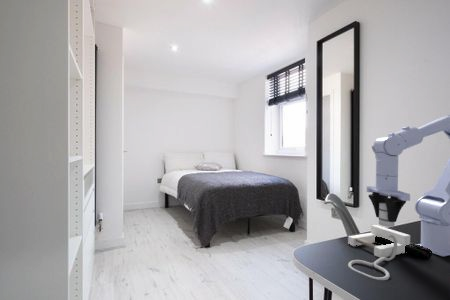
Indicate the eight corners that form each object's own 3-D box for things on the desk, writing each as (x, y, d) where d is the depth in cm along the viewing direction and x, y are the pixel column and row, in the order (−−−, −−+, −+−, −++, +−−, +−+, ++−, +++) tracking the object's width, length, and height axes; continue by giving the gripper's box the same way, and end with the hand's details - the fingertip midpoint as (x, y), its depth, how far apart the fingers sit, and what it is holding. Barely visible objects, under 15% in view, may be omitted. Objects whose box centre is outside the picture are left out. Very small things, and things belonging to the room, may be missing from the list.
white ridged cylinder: (375, 222, 77) (375, 202, 77) (388, 223, 77) (388, 202, 77) (384, 226, 73) (385, 205, 73) (398, 227, 73) (398, 205, 73)
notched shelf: (375, 239, 84) (375, 224, 84) (409, 251, 74) (410, 235, 74) (348, 243, 79) (348, 228, 79) (380, 258, 69) (380, 240, 69)
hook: (416, 261, 67) (383, 295, 56) (379, 249, 75) (344, 277, 64) (414, 236, 66) (381, 265, 55) (377, 226, 74) (342, 250, 63)
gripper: (358, 173, 81) (358, 213, 81) (394, 178, 67) (394, 227, 67) (377, 173, 82) (376, 213, 82) (417, 178, 68) (416, 226, 68)
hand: (385, 219), depth 75 cm, fingers closed on white ridged cylinder, 4 cm apart
